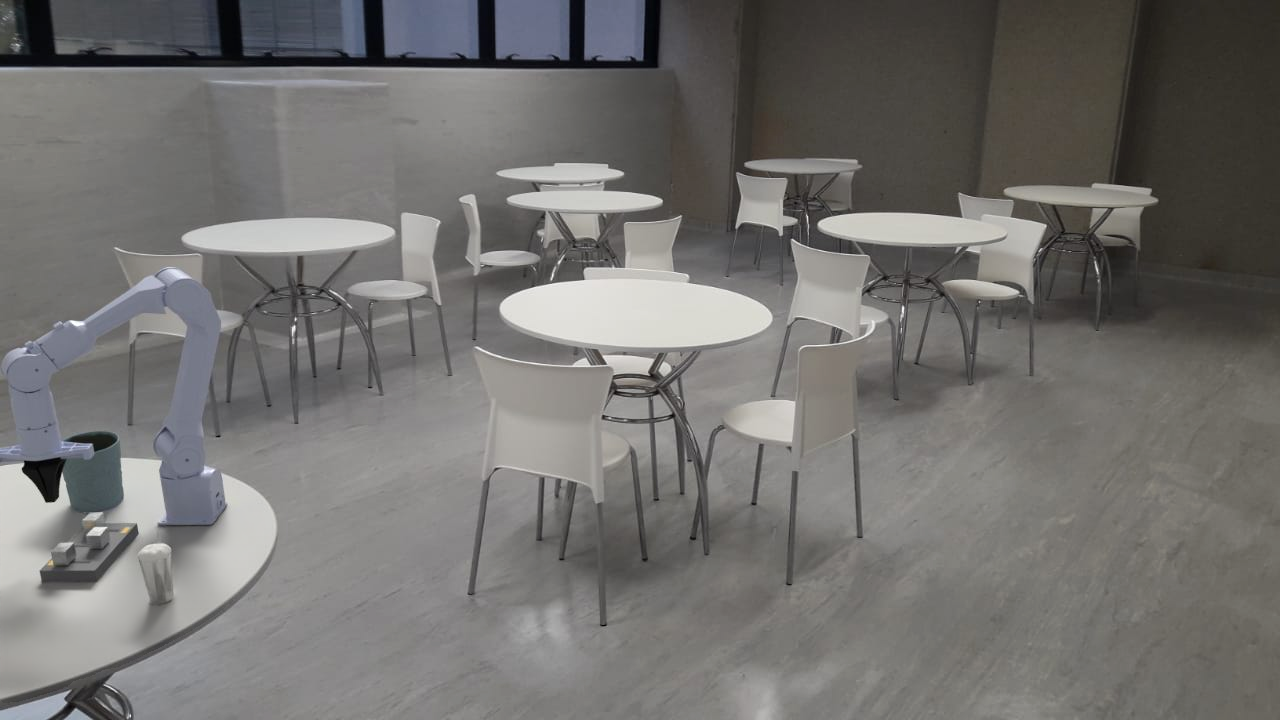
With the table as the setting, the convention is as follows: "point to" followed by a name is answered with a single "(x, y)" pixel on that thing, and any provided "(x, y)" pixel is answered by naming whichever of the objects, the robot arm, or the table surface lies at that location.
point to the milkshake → (157, 571)
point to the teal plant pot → (95, 473)
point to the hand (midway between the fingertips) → (52, 499)
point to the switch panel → (91, 556)
